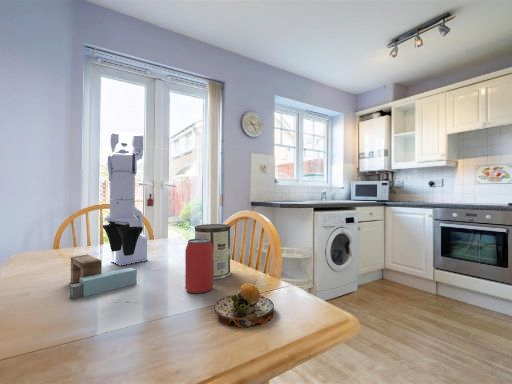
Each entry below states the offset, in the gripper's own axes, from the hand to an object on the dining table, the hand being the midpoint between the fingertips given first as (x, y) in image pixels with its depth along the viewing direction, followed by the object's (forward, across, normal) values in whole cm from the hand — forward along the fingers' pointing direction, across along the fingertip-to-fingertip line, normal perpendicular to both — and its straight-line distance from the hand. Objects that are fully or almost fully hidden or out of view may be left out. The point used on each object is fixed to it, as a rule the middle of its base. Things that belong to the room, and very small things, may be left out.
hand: (122, 252), depth 68 cm
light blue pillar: (+8, 0, -3) cm, 9 cm away
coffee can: (+8, +10, +21) cm, 25 cm away
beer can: (+8, +17, +11) cm, 22 cm away
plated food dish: (+9, +34, +9) cm, 37 cm away
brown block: (+8, -8, -6) cm, 13 cm away
